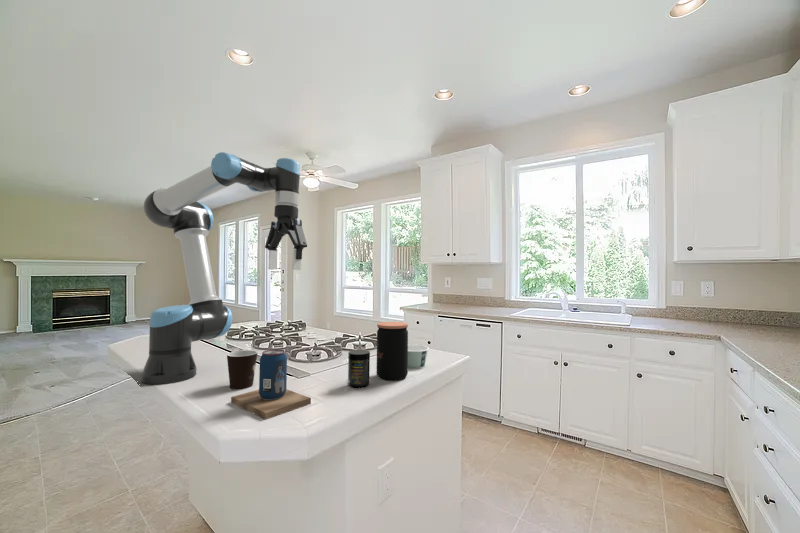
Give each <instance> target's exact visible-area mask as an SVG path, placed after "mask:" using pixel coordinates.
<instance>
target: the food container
mask: <svg viewBox="0 0 800 533" xmlns="http://www.w3.org/2000/svg"><path fill="white" fill-rule="evenodd" d="M429 350H430V347H428V346H426V345H422V344H421V345H420V344H408V368H411V369H414V368H415V369H417V368H422V367H423V368H424V367H426V366H425V365H426V361H427V356H428V351H429Z"/></svg>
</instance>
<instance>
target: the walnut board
mask: <svg viewBox="0 0 800 533" xmlns="http://www.w3.org/2000/svg"><path fill="white" fill-rule="evenodd" d="M311 400H312V398H311V397H309V396H306V395H304V394H302V393H299V392H296V391H293V390H290V389H287V388H286V392H285V394H284V396H283V397H282V398H279V399H276V400H264V399H262V398H261V396H260V394H259V389H256V390H252V391H248V392H244V393H241V394H237V395H233V396H230V403H231V404H233V405H235V406H237V407H239V408H241V409H244V410H245V411H247V410H248V411H247V412H249V411H250V412H249V413H251V412H252V414H253V413H254V415H255V416H258V417H260V418H262V419H264V420H268V419H271V418H273V417H277V416H279V415H283V414H285V413H288V412H291V411H294V410H297V409H299V408H303V407H304V406H305V407H306V406H308V405H311V404H312V401H311Z"/></svg>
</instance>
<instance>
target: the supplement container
mask: <svg viewBox="0 0 800 533" xmlns="http://www.w3.org/2000/svg"><path fill="white" fill-rule="evenodd" d="M347 358H348V362H347V365H348V367H347V370H348V371H347V374H348V375H347V384H348V386H349V388H351V389H358V390H359V389H364V388H368V386H369V384H370V366H371V365H370V364H371V363H370V361H371V359H370V358H371V351H369V350H367V349H354V350H349V351H348V356H347Z"/></svg>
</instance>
